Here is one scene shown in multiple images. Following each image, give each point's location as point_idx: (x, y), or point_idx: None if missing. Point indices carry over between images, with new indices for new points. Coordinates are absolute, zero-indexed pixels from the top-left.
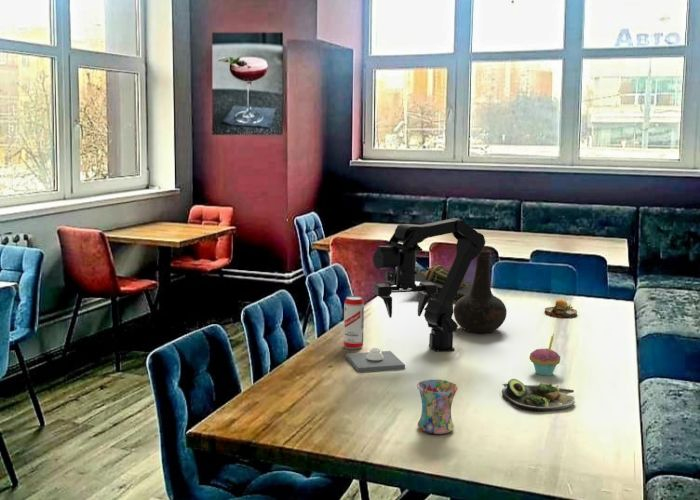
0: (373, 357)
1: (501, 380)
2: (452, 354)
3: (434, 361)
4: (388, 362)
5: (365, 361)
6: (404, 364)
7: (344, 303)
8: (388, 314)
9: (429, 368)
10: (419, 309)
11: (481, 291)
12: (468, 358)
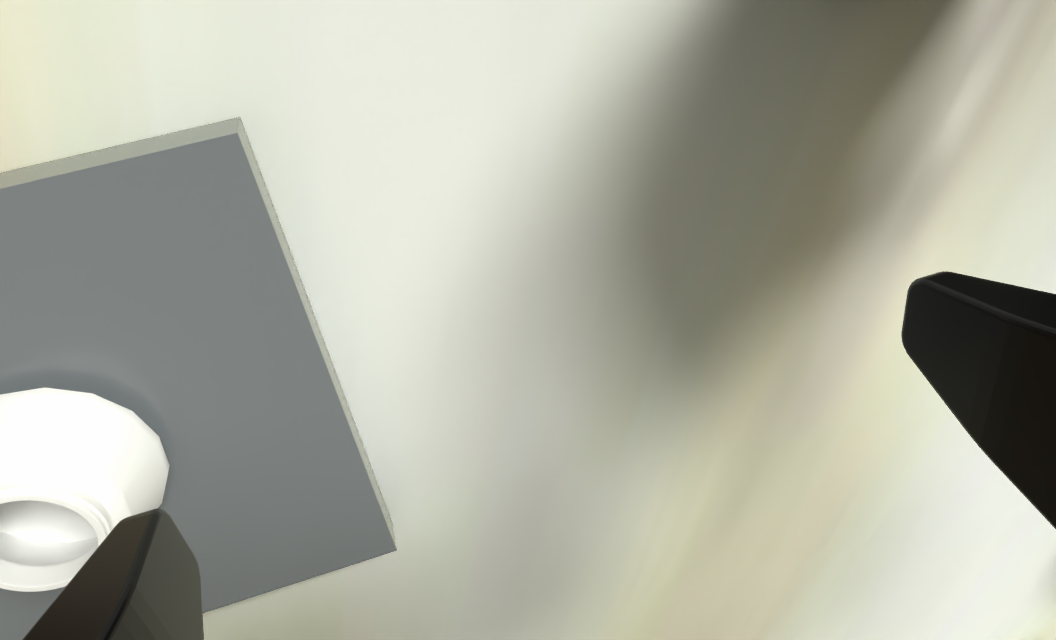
0: (46, 558)
1: (934, 584)
2: (935, 84)
3: (690, 312)
4: (234, 526)
5: None
6: (392, 545)
7: None
8: (84, 582)
9: (596, 479)
10: (1047, 456)
11: None
12: (999, 204)
